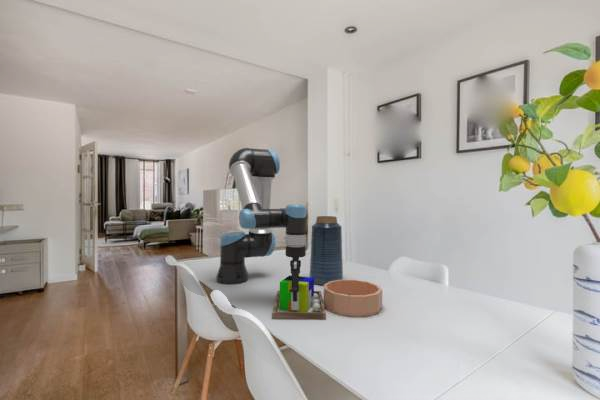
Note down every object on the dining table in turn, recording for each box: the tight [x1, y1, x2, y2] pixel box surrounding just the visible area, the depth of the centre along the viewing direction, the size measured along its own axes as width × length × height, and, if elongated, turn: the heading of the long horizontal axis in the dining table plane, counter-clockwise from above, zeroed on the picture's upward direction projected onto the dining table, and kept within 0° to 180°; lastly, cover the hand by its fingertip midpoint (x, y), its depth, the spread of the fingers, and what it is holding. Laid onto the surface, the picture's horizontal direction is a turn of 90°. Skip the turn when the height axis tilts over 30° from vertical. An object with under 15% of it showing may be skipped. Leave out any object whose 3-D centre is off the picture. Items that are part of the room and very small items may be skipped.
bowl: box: [323, 279, 383, 318], centre depth 113 cm, size 21×21×7 cm
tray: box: [271, 290, 327, 320], centre depth 112 cm, size 24×18×2 cm
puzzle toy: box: [279, 274, 315, 312], centre depth 112 cm, size 10×10×10 cm
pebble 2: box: [311, 303, 321, 312], centre depth 107 cm, size 3×3×3 cm
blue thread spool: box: [309, 215, 344, 286], centre depth 146 cm, size 16×16×32 cm
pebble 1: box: [312, 299, 320, 306], centre depth 111 cm, size 3×3×3 cm
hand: (295, 303), depth 112 cm, fingers closed on puzzle toy, 12 cm apart
